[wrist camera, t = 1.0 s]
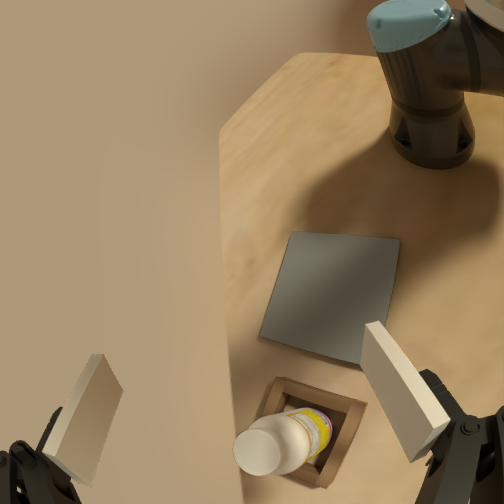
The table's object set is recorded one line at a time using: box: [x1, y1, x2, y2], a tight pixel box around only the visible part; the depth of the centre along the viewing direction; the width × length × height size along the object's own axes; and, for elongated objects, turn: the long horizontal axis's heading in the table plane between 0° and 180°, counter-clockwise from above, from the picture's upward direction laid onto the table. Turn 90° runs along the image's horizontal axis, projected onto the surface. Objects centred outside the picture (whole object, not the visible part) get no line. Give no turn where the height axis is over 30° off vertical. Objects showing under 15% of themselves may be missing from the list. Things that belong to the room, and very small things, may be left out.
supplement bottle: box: [233, 407, 332, 476], centre depth 23 cm, size 7×7×13 cm
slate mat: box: [259, 231, 400, 364], centre depth 34 cm, size 16×16×1 cm
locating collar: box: [261, 377, 368, 489], centre depth 27 cm, size 12×12×2 cm
